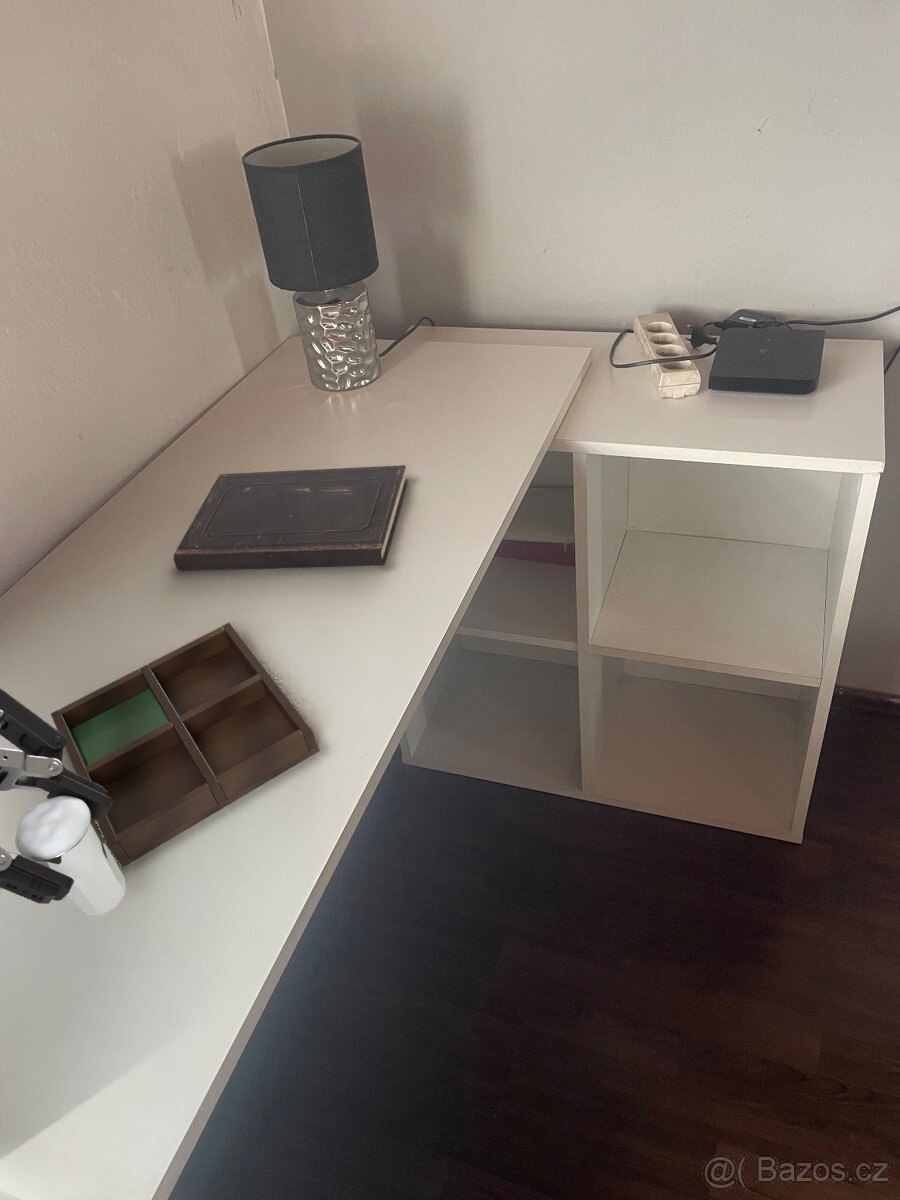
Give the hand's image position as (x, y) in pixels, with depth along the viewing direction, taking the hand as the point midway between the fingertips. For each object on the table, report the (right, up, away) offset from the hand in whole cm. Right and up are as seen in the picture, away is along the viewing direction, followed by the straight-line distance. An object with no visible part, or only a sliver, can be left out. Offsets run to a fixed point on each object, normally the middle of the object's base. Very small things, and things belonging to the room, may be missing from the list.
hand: (87, 848), depth 55 cm
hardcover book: (+6, +24, +43) cm, 50 cm away
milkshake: (-1, -5, +4) cm, 7 cm away
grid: (0, +3, +20) cm, 21 cm away
